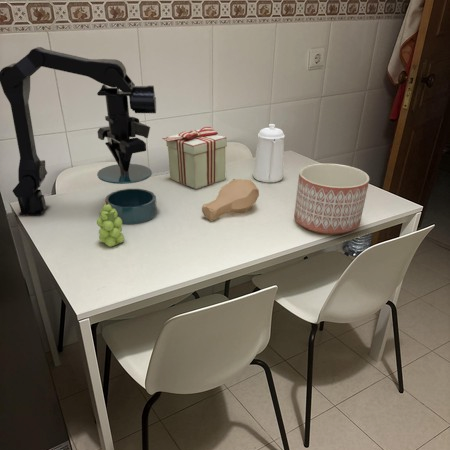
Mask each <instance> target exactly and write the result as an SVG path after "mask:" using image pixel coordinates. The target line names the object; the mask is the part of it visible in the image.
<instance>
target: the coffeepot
mask: <svg viewBox="0 0 450 450" xmlns="http://www.w3.org/2000/svg"><path fill="white" fill-rule="evenodd" d="M285 139H286V134H284V131H283V130H282V129H281V128H278V127H276V124H274V123H269V124H268V127H264V128H261V129H260V130H259V132H258V133H257V142H256V149H255V150H256V152H255V157H254V158H255V159H254V165H253V173H252V176H253V178H254V179H255V180H257V182H261V183H277V182H280V181H281V180H282V179H283V178H284V162H285V161H284V160H285V159H284V158H285V157H284V156H285V152H284V151H285Z"/></svg>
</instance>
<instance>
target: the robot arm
mask: <svg viewBox="0 0 450 450" xmlns="http://www.w3.org/2000/svg"><path fill="white" fill-rule="evenodd" d="M42 67H43V68H47V69H52V70H55V71H61V72H64V73H65V72H66V73H70V74H75V75H80V76H84V77H87V78H90V79H92V80H94V81H96V82H98V83H100V84H102V85H101V87H100V89H99V90H98V92H97V93H96V95H97V96H101V97H102V96H103V97H105V105H106V112H107V115H105V116H104V119H105V121H107V122H108V126H104V127H99V129H98V130H97V138H98V139H99V140H101V141H104V140H105V138H106V139H107V142H105V143H104V144H105V145H106V147H107V149H108V150H109V151H110V154H111V155H112V157H113V158H114V160H115V162H116V165H117V164H118V165H119V167H120V164H119V160H120V162H121V165H122V167H123V169H124V171H128V170H129V165H130V164H131V160H132V156H133V154H137V153H142V152H146V151H147V143H146V142H145V141H144V140H142V139H141V138H139V137H137V136H140V137H143V138H145V139H148V138H149V134H150V130H151V126H149V125H147V124H144V123H142V122H140V119H139V118H137V117H135V116H130V110H132V112H134V114H157V97H156V93H155V86H154V85H136V84H135V83H134V82H133V81H132V79H131V77H130V76H129V75H128V74H127V68H126V66H125V64H124V63H123V62H122V61H120V60H118V59H115V58H113V59H112V58H97V59H96V58H95V59H92V58H86V57H82V56H77V55H73V54H68V53H64V52H60V51H56V50H51V49H47V48H44V47H42V46H37V47H34V48H32V49H30V50H29V52H28V53H27V54H26V55H25V56H24V57H22V58H21V59H20V60H19V61H17V62H15V63H11V64H9V65H7V66H4V67H3V68H1V69H0V86H1V89H2V92H3V94H4V96H5V98H6V99H7V101H8V103H9V104H10V109H11V114H12V120H13V125H14V131H15V136H16V142H17V147H18V154H19V163H18V169H17V173H18V175H17V176H18V177H17V178H18V183H17V184H16V186H15V187H13V189H12V194H13V195H14V196H15V197H16V198H17V202H18V206H19V210H20V211H19V213H18V215H19V216H41V215H43V213H44V212H45V210H46V209H47V208H48V206H47V203H46V199H45V195H44V194H43V193H42V190H41V189H39V188H41V185H42V183H43V182H44V181H45V179H46V176H47V174H48V171H47V169H46V160H45V159H42V160H41V159H40V158H39V156H38V154H37V147H36V142H35V141H36V140H35V134H34V130H33V124H32V117H31V109H30V103H29V100H30V95H31V94H30V93H31V76H33V75H34V74H35V73H36V72H37V71H38V70H39V69H41V68H42ZM128 97H129V98H128ZM129 107H130V108H129ZM129 109H130V110H129Z"/></svg>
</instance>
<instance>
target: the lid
mask: <svg viewBox="0 0 450 450" xmlns="http://www.w3.org/2000/svg"><path fill="white" fill-rule="evenodd" d="M119 164H120V167H119V165H118V164H117V163H116V164H112V165H108V166H105V167H102V168H101V169H99V170H98V171H97V173H96V176H97V178H98V179H99V180H100V181H102V182H104V183H108V184H114V185H127V184H136V183H141V182H143V181H146V180H147V179H149V178H150V177H152V175H153V174H152V173H153V172H152V170H151V168H149V167H147V166H145V165H142V164H136V163H130V165H129V170H128V171H124V169H123V167H122V165H121V162H120V160H119Z"/></svg>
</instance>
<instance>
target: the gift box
mask: <svg viewBox="0 0 450 450" xmlns="http://www.w3.org/2000/svg"><path fill="white" fill-rule="evenodd" d="M227 139H228V138H227V137H226V136H224V135H220V134H218V131H216V130H215V129H214V128H213V127H211V126H204V127H202V128H200V129H193V130H187V131H182V132H180V133H177V134H173V135H169V136H166V137H162V140H164V141H166V142H165V143H166V144H165V145H166V147H167V152H168V167H169V168H168V169H169V179H170V180H172V181H175V182H177V183H179V184H182V185H184V186H187V187H189V188H191V189H194V190H198V189H200V188H201V189H202V188H204V187H207V186H210V185H213V184H216V183H219V182H222V181H224V180H225V181H226V147H228V140H227Z"/></svg>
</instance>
